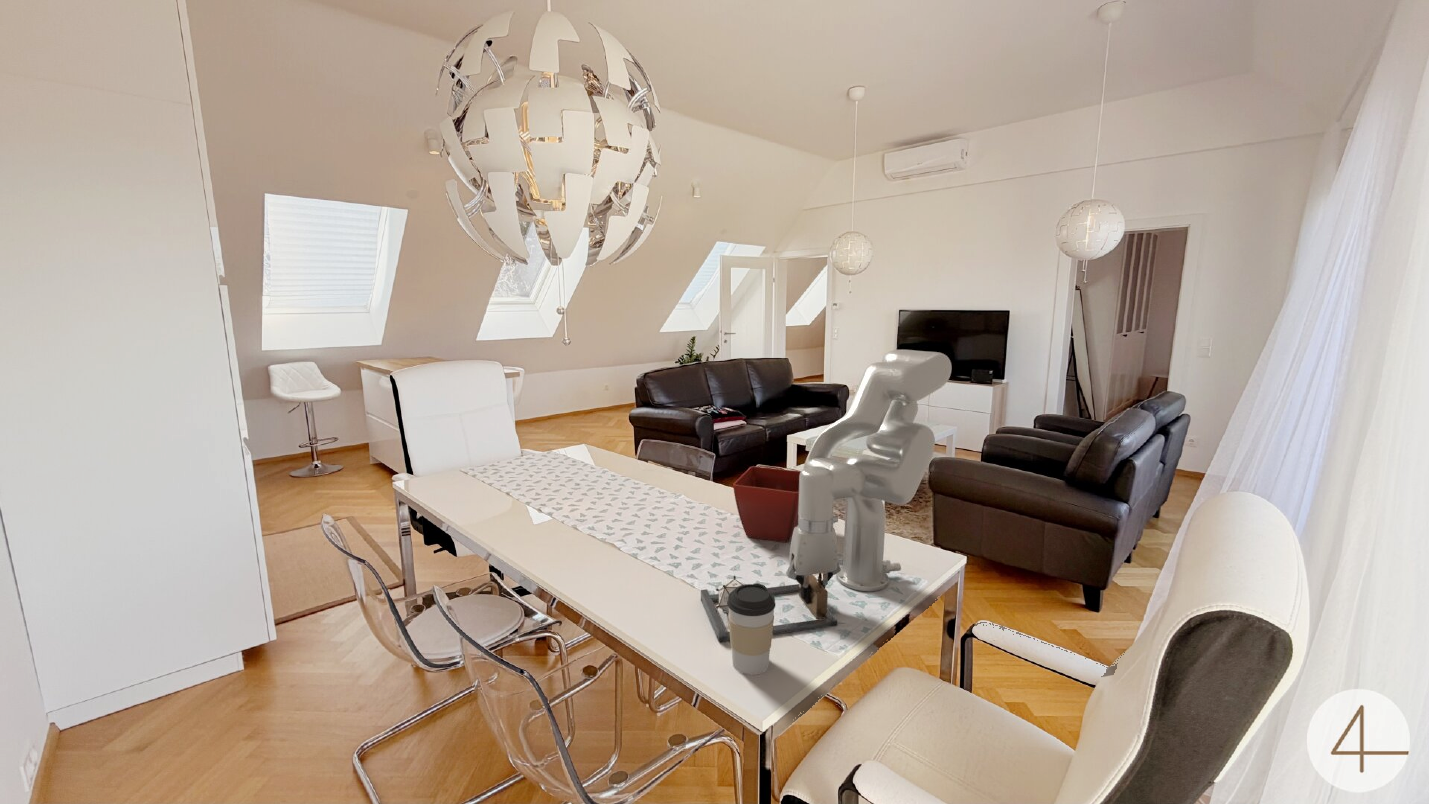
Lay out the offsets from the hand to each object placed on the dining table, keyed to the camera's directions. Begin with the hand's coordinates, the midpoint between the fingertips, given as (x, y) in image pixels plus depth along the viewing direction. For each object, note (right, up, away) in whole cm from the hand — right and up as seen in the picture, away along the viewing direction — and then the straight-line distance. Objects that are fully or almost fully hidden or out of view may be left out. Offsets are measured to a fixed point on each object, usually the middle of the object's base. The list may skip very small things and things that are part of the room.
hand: (812, 599), depth 131 cm
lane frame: (-11, -2, -2) cm, 11 cm away
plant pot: (-5, +6, +42) cm, 42 cm away
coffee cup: (-15, -6, -20) cm, 26 cm away
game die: (-18, -2, -3) cm, 18 cm away
